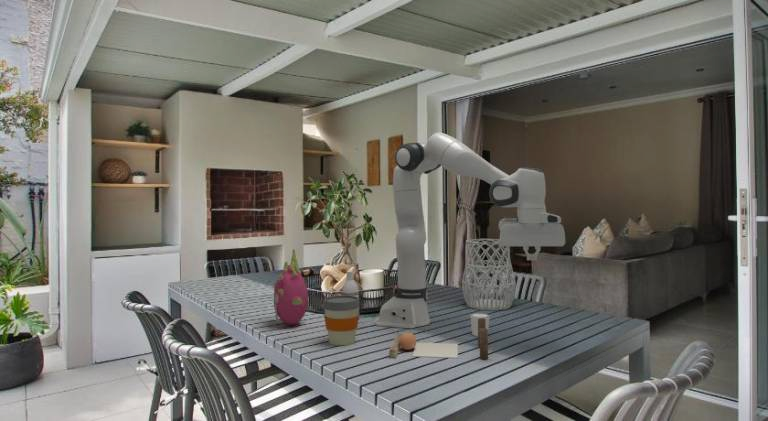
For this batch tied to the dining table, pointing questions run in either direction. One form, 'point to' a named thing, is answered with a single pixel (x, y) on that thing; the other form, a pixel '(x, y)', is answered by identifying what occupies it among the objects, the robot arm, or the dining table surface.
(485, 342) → the post
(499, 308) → the vase
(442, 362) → the dining table surface
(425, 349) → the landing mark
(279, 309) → the pink dragon fruit
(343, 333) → the reusable coffee cup
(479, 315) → the shot glass
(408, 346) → the ball
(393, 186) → the robot arm
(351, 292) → the bath foam
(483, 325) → the post
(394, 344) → the stopper rail
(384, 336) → the dining table surface
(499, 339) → the dining table surface
